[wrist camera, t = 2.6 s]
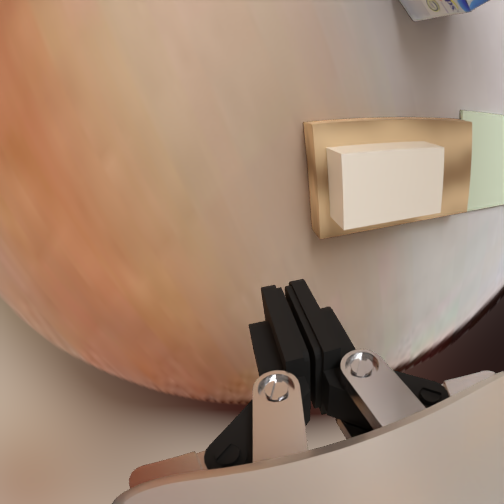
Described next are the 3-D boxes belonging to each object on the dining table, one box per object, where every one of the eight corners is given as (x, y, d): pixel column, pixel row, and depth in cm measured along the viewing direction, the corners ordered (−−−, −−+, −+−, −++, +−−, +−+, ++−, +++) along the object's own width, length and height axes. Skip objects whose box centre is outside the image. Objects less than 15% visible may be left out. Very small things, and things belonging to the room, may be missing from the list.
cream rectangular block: (326, 147, 24) (341, 154, 21) (424, 141, 24) (444, 147, 22) (330, 216, 27) (343, 230, 24) (422, 201, 27) (440, 212, 24)
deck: (303, 122, 25) (312, 124, 23) (457, 118, 26) (472, 122, 24) (311, 228, 29) (320, 239, 27) (453, 204, 31) (466, 211, 29)
